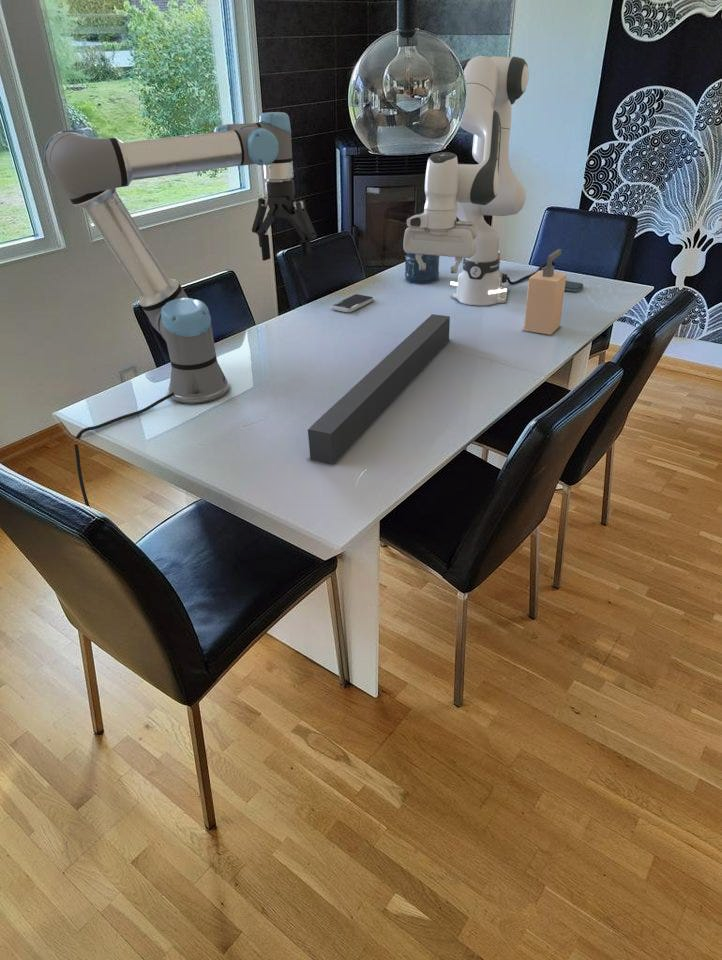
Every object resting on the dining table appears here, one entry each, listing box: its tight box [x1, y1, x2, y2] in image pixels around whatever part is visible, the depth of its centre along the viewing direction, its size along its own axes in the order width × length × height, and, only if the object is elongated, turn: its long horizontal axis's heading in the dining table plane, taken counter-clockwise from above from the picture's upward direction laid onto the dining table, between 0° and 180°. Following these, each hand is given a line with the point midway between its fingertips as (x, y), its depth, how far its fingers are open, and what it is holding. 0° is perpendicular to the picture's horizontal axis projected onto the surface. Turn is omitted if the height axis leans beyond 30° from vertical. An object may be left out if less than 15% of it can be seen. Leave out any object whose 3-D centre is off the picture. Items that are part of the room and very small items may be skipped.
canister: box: [404, 252, 441, 284], centre depth 251 cm, size 13×13×18 cm
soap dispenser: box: [523, 248, 567, 336], centre depth 203 cm, size 13×9×22 cm
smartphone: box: [331, 293, 374, 313], centre depth 232 cm, size 8×1×15 cm
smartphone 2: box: [564, 280, 584, 293], centre depth 241 cm, size 8×2×15 cm
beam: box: [307, 313, 451, 465], centre depth 172 cm, size 77×6×8 cm, turn 155°
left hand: (285, 262), depth 187 cm, fingers open, 13 cm apart
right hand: (438, 271), depth 189 cm, fingers open, 8 cm apart
